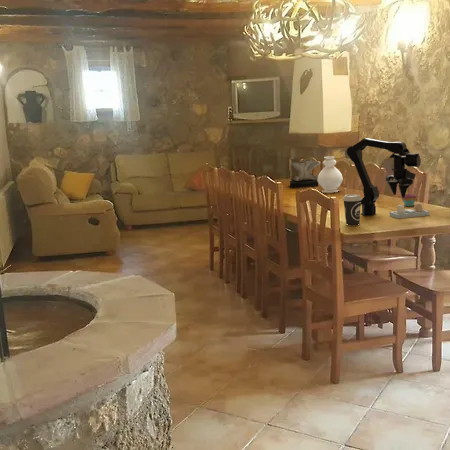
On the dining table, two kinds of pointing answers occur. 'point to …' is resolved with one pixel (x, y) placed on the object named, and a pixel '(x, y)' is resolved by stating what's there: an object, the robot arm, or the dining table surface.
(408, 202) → the cupcake
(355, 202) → the coffee cup
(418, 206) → the brown egg
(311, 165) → the coral
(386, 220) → the dining table surface
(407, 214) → the egg carton
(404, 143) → the robot arm
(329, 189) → the decorative vase
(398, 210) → the cream egg
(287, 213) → the dining table surface
